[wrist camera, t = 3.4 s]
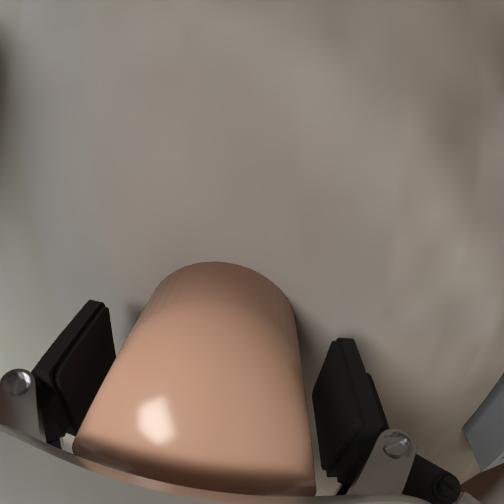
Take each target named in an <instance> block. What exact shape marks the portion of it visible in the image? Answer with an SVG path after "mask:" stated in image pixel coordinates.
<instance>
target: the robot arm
mask: <svg viewBox="0 0 504 504" xmlns="http://www.w3.org/2000/svg"><path fill="white" fill-rule="evenodd" d="M115 359H116V354H115V348H114V342H113V336H112V329H111V322H110V314H109V309H108V308H107V307H105V304H104V303H103V302H98V301H94V300H89V301H88V302H87V303H86V304H85V305H84V306H83V308H82V309H81V310H80V311H79V312H78V314H77V315H76V316H75V317H74V318H73V320H72V321H71V322H70V323H69V324H68V326H67V327H66V328H65V329H64V330H63V331H62V333H61V334H60V335H59V336H58V338H57V339H56V340H55V341H54V343H53V344H52V345H51V347H50V348H49V349H48V350H47V352H46V353H45V354H44V356H43V357H42V358H41V360H40V361H39V362H38V363H37V365H36V366H35V367H34V369H33V370H32V372H31V373H30V372H29V371H28V370H25V369H14V370H11V371H9V372H7V373H6V374H5V375H4V376H3V377H2V379H1V380H0V504H481V503H480V502H479V501H477V500H476V499H475V498H473V497H472V496H471V495H469V494H468V493H467V492H465V493H461V486H460V483H459V481H458V479H457V478H456V477H455V476H454V475H452V474H451V473H449V472H447V471H445V470H444V469H442V468H440V467H438V466H436V465H435V464H433V463H431V462H429V461H428V460H426V459H424V458H422V457H421V456H419V455H417V454H416V449H417V447H416V442H415V441H414V439H413V437H412V436H411V435H410V434H409V433H407V432H405V431H403V430H400V429H389V426H388V423H387V420H386V417H385V414H384V411H383V408H382V405H381V402H380V399H379V397H378V394H377V391H376V388H375V385H374V382H373V380H372V377H371V375H370V374H368V373H366V371H365V368H364V366H363V363H362V360H361V357H360V354H359V352H358V349H357V346H356V343H355V341H354V339H350V338H338V339H337V340H336V341H332V343H331V345H330V348H329V350H328V353H327V356H326V358H325V361H324V364H323V366H322V369H321V371H320V374H319V376H318V379H317V381H316V384H315V386H314V389H313V393H312V400H313V407H314V414H315V421H316V428H317V436H318V443H319V451H320V459H321V467H322V469H323V470H326V472H327V477H337V481H338V482H339V483H340V485H339V487H338V488H337V490H336V492H335V493H334V495H333V496H310V497H280V496H257V495H244V494H233V493H224V492H216V491H209V490H202V489H196V488H190V487H184V486H179V485H174V484H169V483H165V482H160V481H156V480H152V479H148V478H144V477H140V476H136V475H133V474H129V473H126V472H122V471H119V470H116V469H113V468H110V467H106V466H104V465H101V464H98V463H95V462H92V461H89V460H87V459H84V458H81V457H79V456H76V455H74V454H71V453H69V452H66V451H65V447H64V442H63V437H64V436H65V434H66V433H68V434H71V435H73V436H76V435H77V433H78V431H79V429H80V427H81V425H82V423H83V421H84V418H85V416H86V414H87V412H88V410H89V408H90V406H91V404H92V403H93V401H94V399H95V397H96V395H97V393H98V391H99V389H100V387H101V385H102V383H103V381H104V379H105V377H106V376H107V374H108V372H109V370H110V368H111V366H112V364H113V363H114V361H115Z"/></svg>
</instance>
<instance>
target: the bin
mask: <svg viewBox="0 0 504 504" xmlns="http://www.w3.org/2000/svg"><path fill="white" fill-rule="evenodd" d="M462 429H463V431H464V433H465V435H466V437H467V440H468V442H469V444H470V446H471V448H472V451H473V453H474V455H475V457H476V460H477V462H478V464H479V467H480V469H481V471H482V472H483V471H485V470H488V469H490V468H493V467H495V466H497V465H499V464H502V463H504V374H503V375H502V377H501V378H500V380H499V381H498V383H497V384H496V386H495V387H494V388H493V390H492V391H491V393H490V394H489V395H488V397H487V398H486V399H485V401H484V402H483V403H482V405H481V406H480V407H479V409H478V410H477V411H476V412H475V414H474V415H473V416H472V417H471V418H470V420H469V421H468V422H467V423H466V424H465V426H464V427H463V428H462Z"/></svg>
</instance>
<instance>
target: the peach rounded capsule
mask: <svg viewBox="0 0 504 504" xmlns="http://www.w3.org/2000/svg"><path fill="white" fill-rule="evenodd" d="M72 450H73V453H74V455H76V456H79V457H81V458H84V459H87V460H89V461H92V462H95V463H98V464H101V465H104V466H106V467H110V468H113V469H116V470H119V471H122V472H126V473H129V474H133V475H136V476H140V477H144V478H148V479H152V480H156V481H160V482H165V483H169V484H174V485H179V486H184V487H190V488H196V489H202V490H209V491H216V492H224V493H233V494H244V495H257V496H280V497H310V496H315V495H316V482H315V472H314V463H313V453H312V444H311V436H310V427H309V419H308V411H307V403H306V395H305V387H304V379H303V372H302V365H301V357H300V350H299V343H298V336H297V329H296V323H295V316H294V313H293V310H292V307H291V305H290V303H289V301H288V299H287V298H286V296H285V295H284V294H283V292H282V291H281V290H280V289H279V288H278V287H277V286H276V285H275V284H274V283H273V282H271V281H270V280H269V279H268V278H266V277H264V276H263V275H261V274H260V273H258V272H256V271H253V270H251V269H249V268H246V267H243V266H240V265H236V264H231V263H225V262H203V263H197V264H192V265H189V266H186V267H183V268H181V269H179V270H177V271H175V272H173V273H172V274H170V275H169V276H167V277H166V278H165V279H164V280H163V281H162V282H161V283H160V284H159V285H158V287H157V288H156V289H155V291H154V293H153V294H152V296H151V298H150V299H149V301H148V303H147V304H146V306H145V308H144V310H143V311H142V313H141V315H140V316H139V318H138V320H137V322H136V323H135V325H134V327H133V329H132V330H131V332H130V334H129V336H128V337H127V339H126V341H125V343H124V344H123V346H122V348H121V350H120V352H119V353H118V355H117V357H116V359H115V361H114V363H113V364H112V366H111V368H110V370H109V372H108V374H107V376H106V377H105V379H104V381H103V383H102V385H101V387H100V389H99V391H98V393H97V395H96V397H95V399H94V401H93V403H92V404H91V406H90V408H89V410H88V412H87V414H86V416H85V418H84V421H83V423H82V425H81V427H80V429H79V431H78V433H77V435H76V437H75V439H74V442H73V444H72Z"/></svg>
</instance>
